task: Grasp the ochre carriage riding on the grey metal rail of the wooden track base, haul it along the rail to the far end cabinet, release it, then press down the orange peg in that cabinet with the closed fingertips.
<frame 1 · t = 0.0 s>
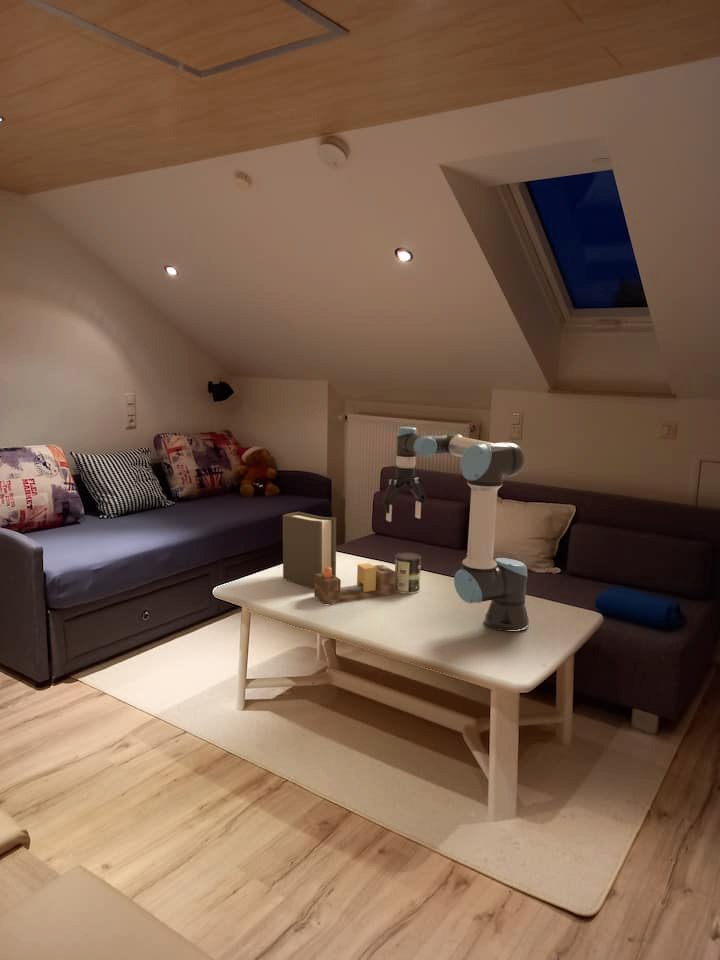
hand: (403, 519, 282), 28 cm above the table, fingers open, 13 cm apart
carriage: (366, 577, 277), point 7 cm above the table, slide at -5.0 cm
coffee can: (406, 590, 284), on the table
orange peg: (327, 575, 268), point 9 cm above the table, slide at 0.0 cm
wooden track base: (354, 595, 275), on the table
book: (307, 582, 289), on the table
bar: (354, 588, 275), point 2 cm above the table
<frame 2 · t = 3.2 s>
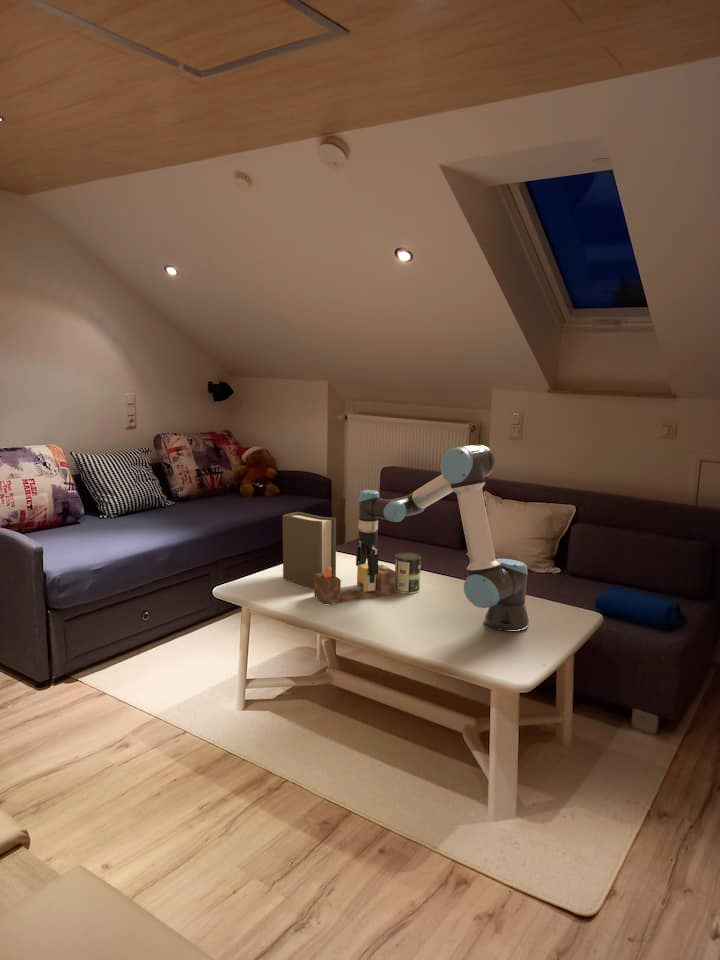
hand: (366, 587, 277), 2 cm above the table, fingers closed on carriage, 6 cm apart
carriage: (366, 577, 277), point 6 cm above the table, slide at -5.0 cm, touching gripper
everything else where it was.
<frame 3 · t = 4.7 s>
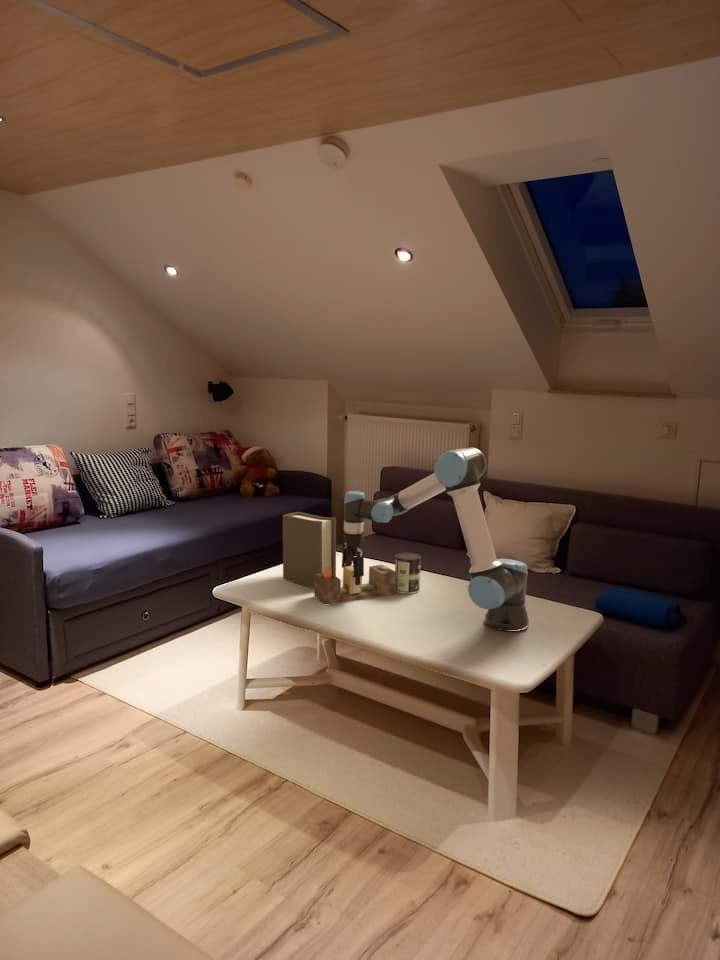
hand: (352, 589, 274), 2 cm above the table, fingers closed on carriage, 6 cm apart
carriage: (352, 579, 274), point 7 cm above the table, slide at 1.3 cm, touching gripper
everything else where it was.
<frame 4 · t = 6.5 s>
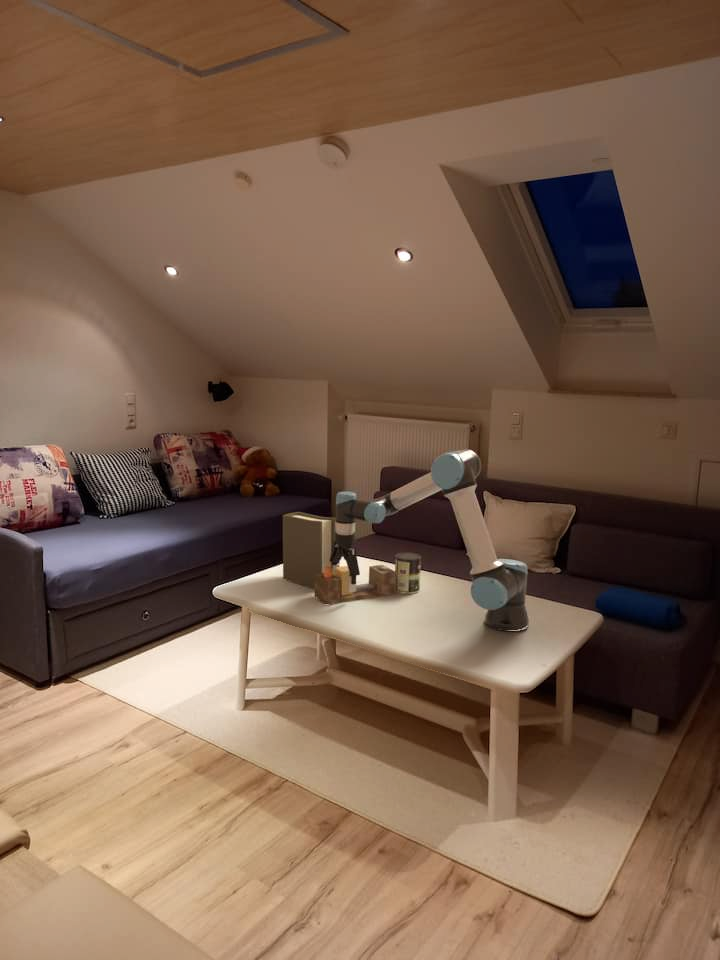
hand: (343, 586, 272), 4 cm above the table, fingers open, 13 cm apart
carriage: (343, 580, 272), point 7 cm above the table, slide at 4.9 cm
everything else where it was.
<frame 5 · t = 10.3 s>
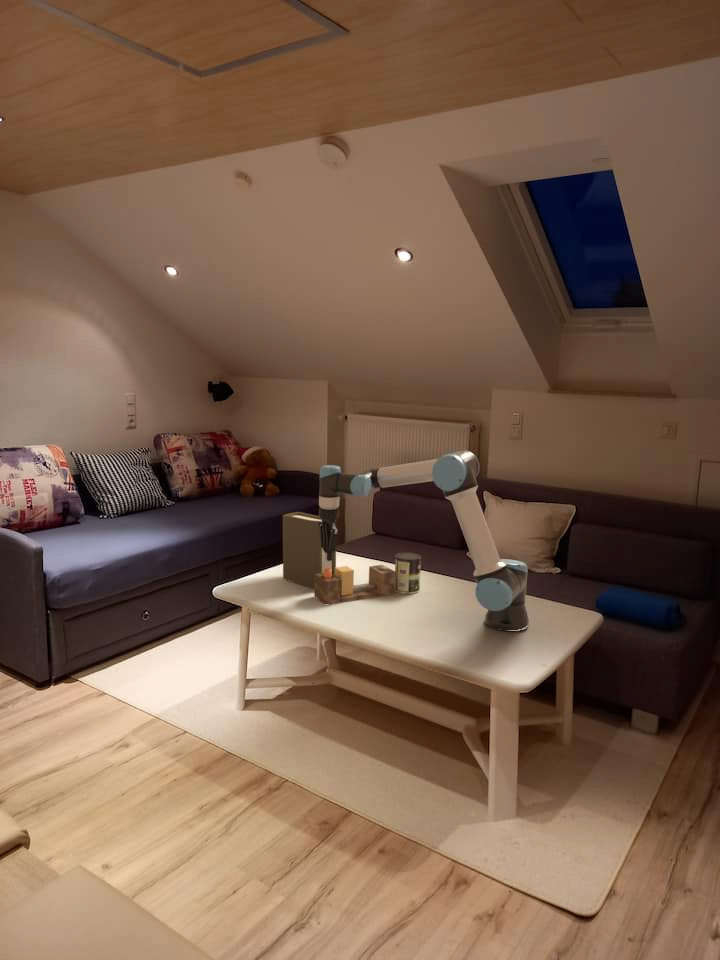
hand: (327, 568, 268), 12 cm above the table, fingers closed
orange peg: (327, 576, 268), point 9 cm above the table, slide at 0.3 cm, touching gripper
everything else where it was.
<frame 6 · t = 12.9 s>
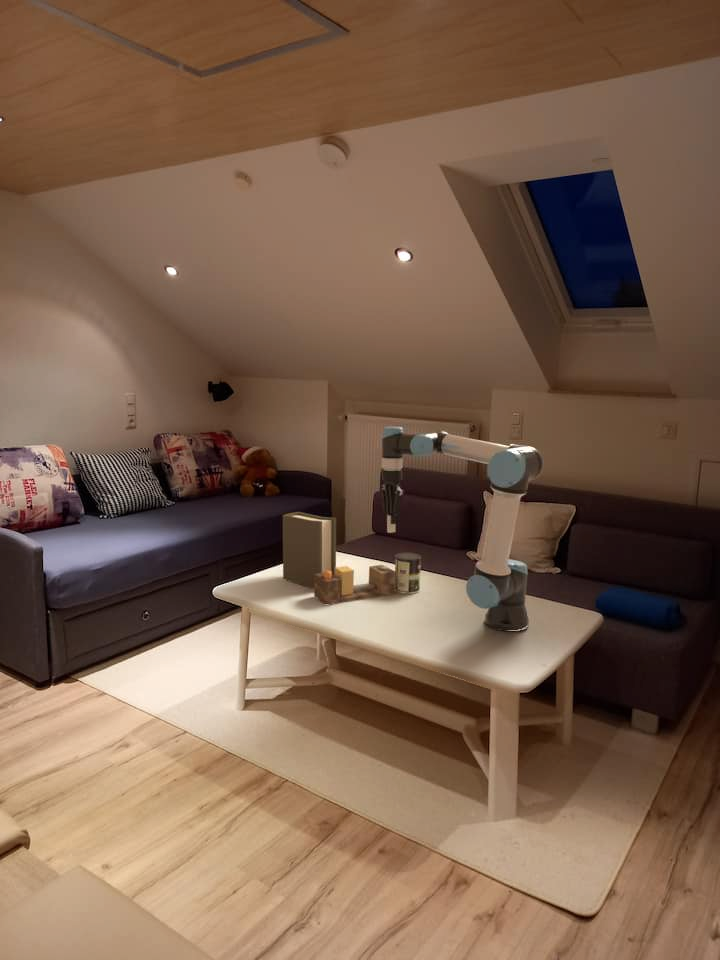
hand: (391, 532, 263), 28 cm above the table, fingers closed
orange peg: (327, 579, 268), point 8 cm above the table, slide at 1.5 cm
everything else where it was.
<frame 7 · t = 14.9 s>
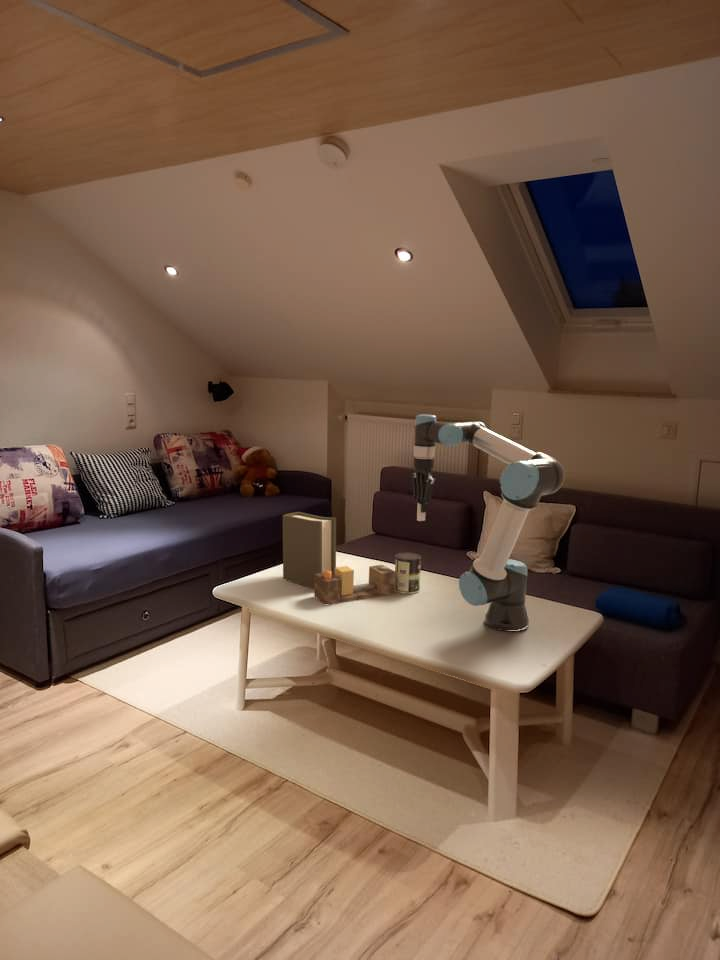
hand: (421, 520, 262), 32 cm above the table, fingers closed
nothing on the table moved.
at the end: carriage slide at 4.9 cm; orange peg slide at 1.5 cm; the gripper is holding nothing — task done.
